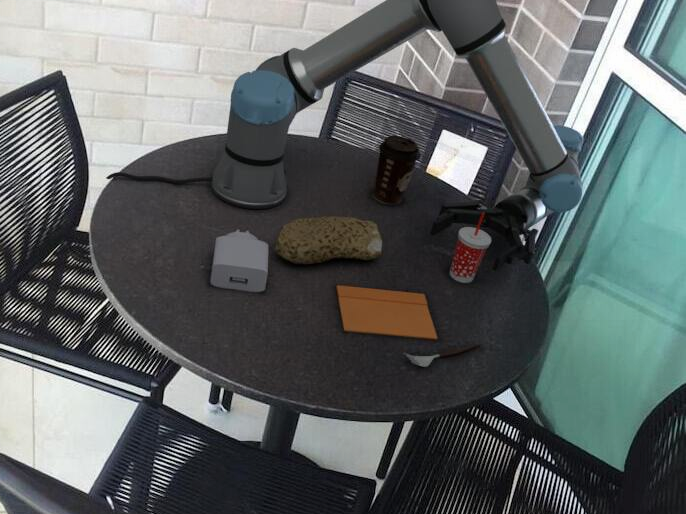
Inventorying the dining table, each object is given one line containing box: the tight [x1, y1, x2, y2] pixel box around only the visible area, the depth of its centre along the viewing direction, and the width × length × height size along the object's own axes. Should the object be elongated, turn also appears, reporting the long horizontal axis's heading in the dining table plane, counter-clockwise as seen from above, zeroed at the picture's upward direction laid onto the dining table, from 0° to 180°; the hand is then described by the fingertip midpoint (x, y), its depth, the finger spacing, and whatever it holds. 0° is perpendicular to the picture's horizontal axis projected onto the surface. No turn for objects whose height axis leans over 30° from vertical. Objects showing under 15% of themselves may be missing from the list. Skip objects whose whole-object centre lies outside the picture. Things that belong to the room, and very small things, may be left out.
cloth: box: [336, 284, 438, 340], centre depth 139 cm, size 16×12×1 cm
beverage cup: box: [448, 212, 492, 284], centre depth 149 cm, size 6×6×14 cm
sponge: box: [274, 215, 383, 265], centre depth 149 cm, size 13×8×20 cm
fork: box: [402, 343, 482, 368], centre depth 132 cm, size 3×16×2 cm, turn 120°
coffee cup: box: [371, 135, 422, 206], centre depth 170 cm, size 9×8×13 cm
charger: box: [210, 229, 269, 293], centre depth 142 cm, size 5×9×15 cm
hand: (463, 246), depth 147 cm, fingers open, 13 cm apart
